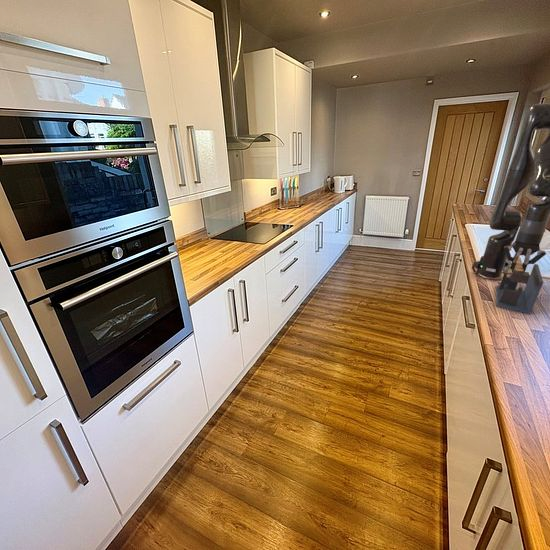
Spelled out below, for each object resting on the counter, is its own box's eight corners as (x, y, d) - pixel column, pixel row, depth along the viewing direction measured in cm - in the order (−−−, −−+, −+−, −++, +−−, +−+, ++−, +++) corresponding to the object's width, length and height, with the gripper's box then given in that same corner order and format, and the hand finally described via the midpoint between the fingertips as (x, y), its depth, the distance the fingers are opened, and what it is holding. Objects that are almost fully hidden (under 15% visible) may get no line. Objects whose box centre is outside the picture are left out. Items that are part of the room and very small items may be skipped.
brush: (508, 262, 128) (510, 255, 127) (522, 264, 126) (525, 257, 124) (510, 281, 112) (512, 273, 111) (526, 284, 109) (529, 276, 108)
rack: (496, 287, 135) (506, 259, 129) (526, 293, 130) (538, 264, 123) (496, 306, 121) (507, 275, 115) (530, 314, 115) (543, 282, 109)
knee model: (507, 266, 167) (506, 276, 149) (493, 258, 170) (490, 266, 152) (520, 254, 162) (520, 262, 144) (506, 245, 166) (504, 252, 147)
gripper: (553, 230, 111) (537, 271, 119) (509, 225, 119) (496, 264, 126) (556, 235, 106) (539, 278, 113) (509, 230, 113) (496, 270, 120)
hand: (516, 271), depth 120 cm, fingers closed on brush, 2 cm apart
